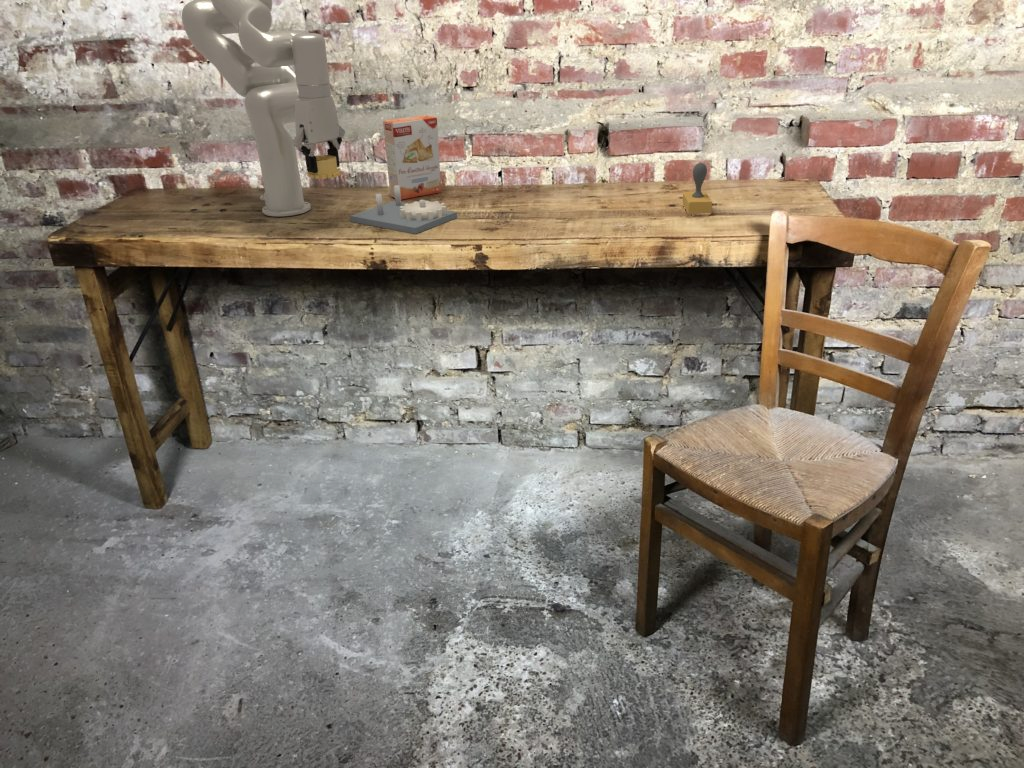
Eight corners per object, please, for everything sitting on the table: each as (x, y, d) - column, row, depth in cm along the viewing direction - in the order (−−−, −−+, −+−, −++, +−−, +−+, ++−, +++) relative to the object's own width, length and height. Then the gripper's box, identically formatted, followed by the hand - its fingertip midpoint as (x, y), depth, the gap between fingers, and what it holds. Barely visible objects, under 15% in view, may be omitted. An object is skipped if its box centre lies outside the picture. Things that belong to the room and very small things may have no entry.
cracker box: (399, 201, 210) (392, 122, 201) (389, 197, 215) (381, 120, 205) (443, 192, 218) (437, 116, 208) (432, 188, 222) (426, 113, 212)
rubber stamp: (711, 216, 189) (715, 167, 183) (687, 216, 189) (691, 167, 184) (704, 205, 198) (708, 158, 192) (682, 205, 198) (685, 158, 192)
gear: (300, 175, 186) (298, 159, 184) (325, 169, 192) (323, 152, 190) (323, 180, 182) (321, 163, 180) (347, 173, 188) (346, 157, 186)
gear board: (350, 221, 194) (347, 196, 191) (393, 206, 205) (390, 182, 202) (415, 234, 183) (413, 207, 180) (457, 217, 194) (455, 192, 191)
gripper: (330, 85, 185) (338, 160, 194) (273, 95, 173) (285, 174, 182) (352, 88, 182) (359, 164, 190) (296, 98, 169) (307, 179, 178)
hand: (323, 168), depth 186 cm, fingers closed on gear, 6 cm apart
